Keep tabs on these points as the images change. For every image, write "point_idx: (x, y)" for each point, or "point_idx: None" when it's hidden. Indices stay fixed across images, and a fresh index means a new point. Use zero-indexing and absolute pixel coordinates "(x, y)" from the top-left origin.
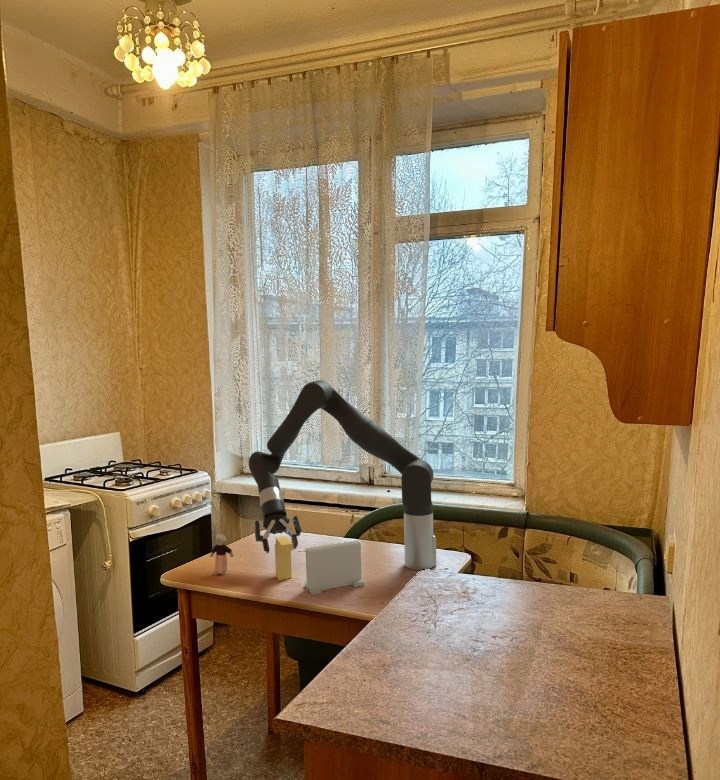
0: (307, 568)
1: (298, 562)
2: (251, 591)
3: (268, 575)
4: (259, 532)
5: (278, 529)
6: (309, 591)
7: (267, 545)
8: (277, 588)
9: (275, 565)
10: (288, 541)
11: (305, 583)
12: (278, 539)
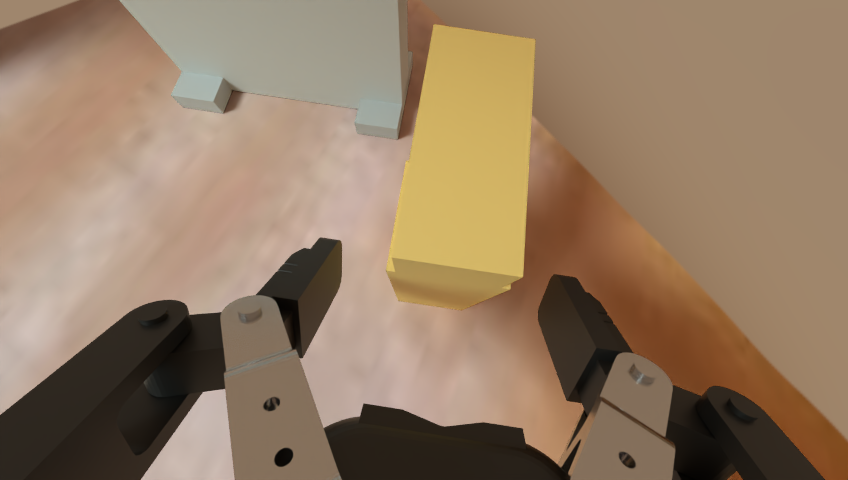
0: (403, 17)
1: None
2: (601, 208)
3: (490, 338)
4: (764, 467)
5: (439, 437)
6: (408, 83)
7: (579, 298)
8: None
9: (471, 305)
10: (444, 88)
11: (399, 119)
12: (511, 197)
